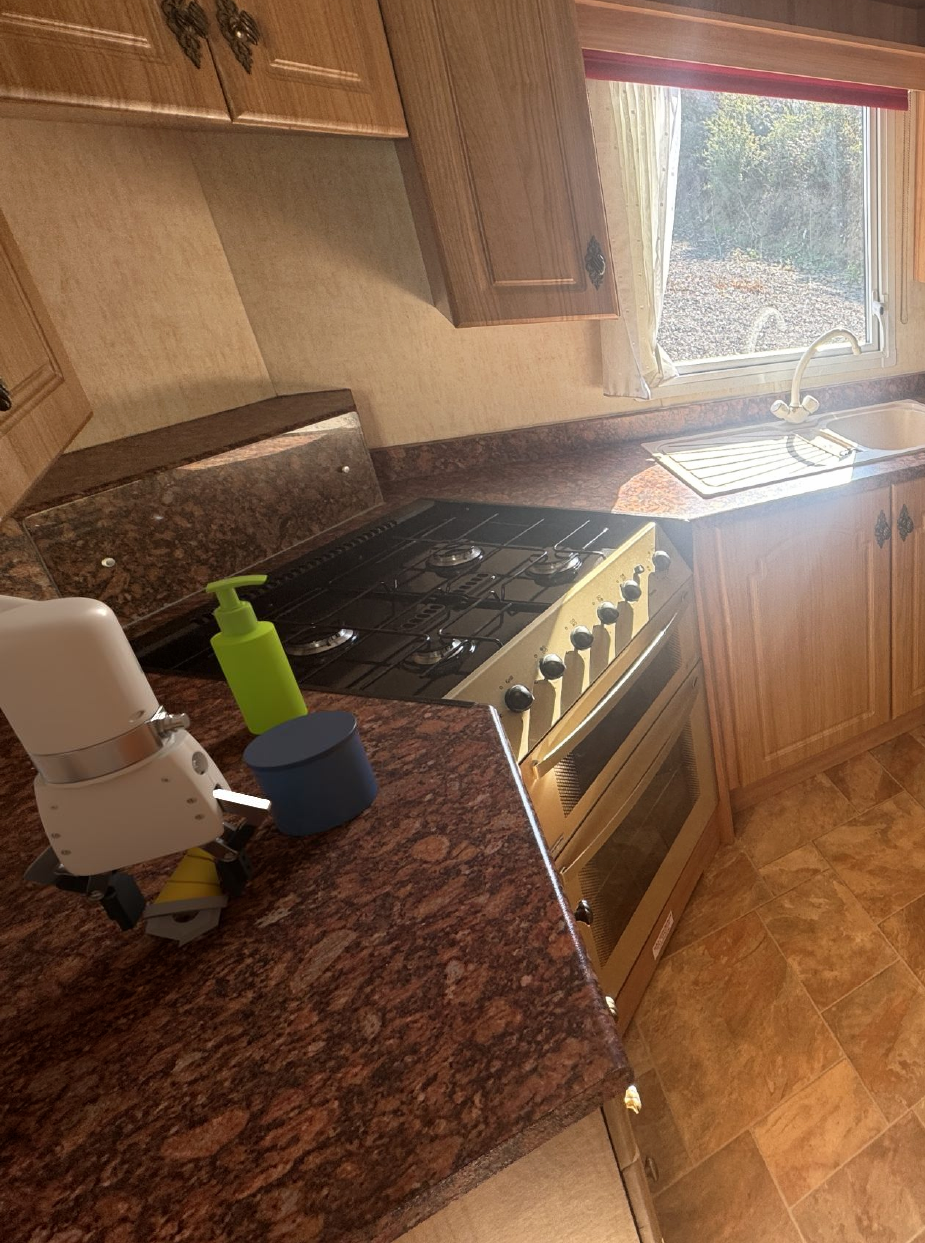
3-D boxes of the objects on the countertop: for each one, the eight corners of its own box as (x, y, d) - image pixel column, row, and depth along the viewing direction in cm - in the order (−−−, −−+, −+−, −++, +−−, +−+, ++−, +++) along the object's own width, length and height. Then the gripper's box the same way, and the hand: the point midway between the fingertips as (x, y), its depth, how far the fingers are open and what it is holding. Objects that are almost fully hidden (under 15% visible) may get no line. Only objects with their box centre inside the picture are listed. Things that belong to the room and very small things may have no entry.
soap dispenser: (316, 721, 95) (261, 583, 87) (245, 740, 92) (182, 598, 84) (319, 699, 100) (267, 565, 92) (252, 716, 96) (193, 579, 88)
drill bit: (133, 955, 65) (162, 835, 69) (217, 942, 69) (239, 829, 73) (135, 952, 62) (164, 827, 66) (222, 939, 65) (245, 821, 69)
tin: (263, 850, 76) (230, 778, 72) (285, 793, 83) (256, 725, 80) (374, 817, 80) (348, 748, 76) (385, 766, 87) (362, 701, 84)
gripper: (253, 691, 67) (316, 839, 74) (-23, 750, 60) (76, 909, 67) (228, 737, 61) (300, 894, 68) (-82, 809, 54) (34, 977, 61)
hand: (189, 900), depth 67 cm, fingers open, 6 cm apart
